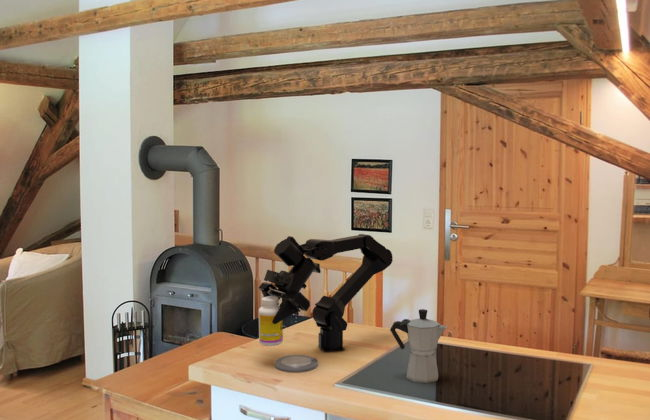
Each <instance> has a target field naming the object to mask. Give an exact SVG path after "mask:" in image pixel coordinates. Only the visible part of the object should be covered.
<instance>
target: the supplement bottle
mask: <svg viewBox="0 0 650 420" xmlns="http://www.w3.org/2000/svg"><path fill="white" fill-rule="evenodd" d="M279 301H280V300H279V298H278V297H274V296H268V297H264V296H263V297H261V304H262V305H263V306H262V305H261V307H259V308H258V342H259V344H260V345H262V346H264V347H274V346H279V345H281V344H283V340H284V339H283V337H284V336H283V335H284V333H283V332H284V329H283V325H284V324H283V320H282V321H280V322H278V323H277V324H273V323H272V321H273V319H274V317H275V315H276V314H277V312H278V310H279V309H280V307H281V305H278V303H280V302H279Z"/></svg>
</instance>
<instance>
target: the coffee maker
mask: <svg viewBox="0 0 650 420" xmlns="http://www.w3.org/2000/svg"><path fill="white" fill-rule="evenodd" d="M427 315H428V309H424V308H422V309H418V316H419V318H414V319H409V318H404V319H402V320H401V321H399V320H397V321H393V323H392V324H391V327H390V329H389V331H390V332H391V334H392V336H393V338H394V339H395V341H396V342H397V345H398V346H399V347H400V349H401V351H403V350H404V349H405V348H406V346H405V344H404V343H403V340H402V339H401V337H400V336H399V334H398V332H397V331H396V330H400V331H401V332H404V333H406V334H407V340H408V341H407V342H408V347H409V348H410V351H409V352H410V353H409V358H408V365H407V369H406V377H405V378H406V379H408V380H409V381H411V382H413V383H418V384H419V383H421V384H430V383H434V382H438V381H439V380H438V379H439V370H438V364H437V357H436V352H435V350H436V349H437V348H438V343H439V341H440V338H441V336H442V334H443V333H444V332H445V330H446V329H448V326H445V325H443V324H440V323H439V322H438V321H436V320H433V319H428V318H427Z"/></svg>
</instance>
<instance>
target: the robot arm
mask: <svg viewBox="0 0 650 420" xmlns="http://www.w3.org/2000/svg"><path fill="white" fill-rule="evenodd" d="M355 250H360V252H361V254H362V255H363V257H362V261H361V264H360V266H359V267H358V268H357V269H356V270H355V271H354V273H352V274H351V276H349V277H348V279H347V280H346V281H345V282H344V283H343V285H341V286H340V288H339V289H338V290H337V291H336V292H335V293H334V294H333V295H331V296H327V295H323V296H322V297H321V298H320V300H319V301H318V302H316V303H315V304H314V305H315V306H314V308H313V310H312V318H313V321H314V322H315V324H316V326H317V327H318V328H319V329H320V330H319V332H318V345H317V346H318V347H319V349H321V350H322V352H323V353H330V352H337V351H341V352H342V351H345V350H346V348H345V347H344V346H343V345H344V331H346V330H347V327H348V322H347V320H345V319H344V314H345V311H346V306H347V305H349V303H350V302H351V301H352V299H353V298H355V296H356V295H357V294H358V293H359V292H360V291H361V289H363V287H364V286H366V284H367V283H368V282H369V281H370V280H371V279H372V277H373V276H375V275H377V274H379V273H381V272H383V271H385V270H386V269H387V268H388V267H390V266H391V264H392V263H393V253H392V251H391V250H390V249H388V248H386V247H385V245H383V244H381V243H380V242H378V241H377V240H376V239H375V238H374V237H373V236H372V235H370V234H364V233H359V234H357V235H353V236H346V237H340V238H336V239H320V238H310V239H307V240H306V241H305V242H304V243H303V244H299V242H298V241H297V240H296V238H294V237H293V236H289V235H288V236H287V237H286V238H284V239H282V240H281V241H280V242H279V243H277V244H276V245H275V246H274V251H273V253H274V254H275V255H276V256H277V257H278V258H279V260H281V262H283V264H284V265H286V266H287V267H291V268H290V270H289V271H285V270H280V271H279V272H278V271H275V270H270V269H267V271H266V273H265V275H264V277H263V282H261V283H260V285H259V287H258V289H259V290H260V292H261V294H262V295H263V297H268V296H274V297H278V298H279V301H280V299H281V305H280V302H278V306H280V309H279V310H278V312H277V314H276V315H275V317H274V319H273V321H272V323H273V324H277V323H278V322H280V321H282V322H283V321H284V320H285V319H287V318H288V317H291V316H292V315H294V314H297V313H301V311H304V312H307V311H308V310H309V308H310V307H311V301H310V300H309V299H308V298H307V297H306V296H305V295H304V294H303V293H302V292H301V290H302V289H304V290H305V289H306V288H307V286H308V285H306V283H307V281H308V280H309V278H310V277H311V276H312V274H313V273H316V274H321V273H322V271H321V267H320V265H321V264H320V263H318V262H315V261H325V260H328V259H330V258H332V257H333V256H335V255H336V254H340V253H344V252H350V251H355ZM313 260H315V261H313ZM264 281H265V282H264ZM262 306H263V304H262V305H261V307H262Z"/></svg>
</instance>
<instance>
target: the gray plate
mask: <svg viewBox="0 0 650 420" xmlns="http://www.w3.org/2000/svg"><path fill="white" fill-rule="evenodd" d="M318 366H319V361H318V359H317V358H316V357H314V356H312V355H306V354H288V355H283V356H280V357H278V358H276V359H275V361H274V368H275V369H276V370H278V371H281V372H284V371H285V373H286V372H287V373H306V372H309V371H313V370H315V369H316V368H318Z"/></svg>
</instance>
